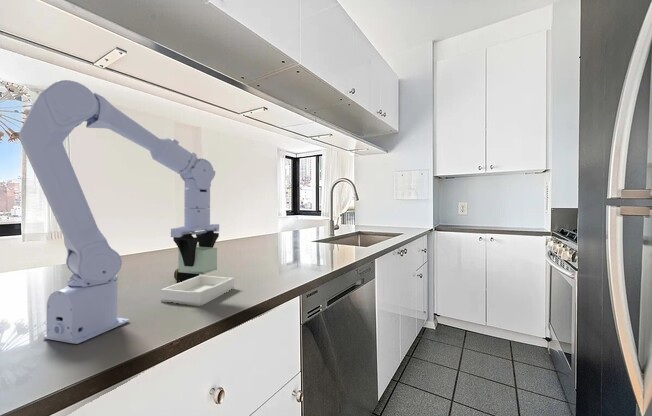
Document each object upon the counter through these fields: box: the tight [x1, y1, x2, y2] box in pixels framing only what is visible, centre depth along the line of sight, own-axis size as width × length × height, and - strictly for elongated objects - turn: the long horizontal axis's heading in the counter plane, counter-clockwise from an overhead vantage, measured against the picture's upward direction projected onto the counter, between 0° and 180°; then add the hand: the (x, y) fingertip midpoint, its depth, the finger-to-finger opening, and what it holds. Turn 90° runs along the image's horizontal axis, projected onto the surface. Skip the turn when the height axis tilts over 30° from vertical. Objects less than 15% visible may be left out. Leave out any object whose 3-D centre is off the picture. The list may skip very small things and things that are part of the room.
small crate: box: [177, 246, 218, 275], centre depth 68 cm, size 5×7×6 cm
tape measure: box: [173, 268, 200, 282], centre depth 85 cm, size 7×7×4 cm
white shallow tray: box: [160, 274, 235, 307], centre depth 72 cm, size 14×11×3 cm
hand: (197, 263), depth 68 cm, fingers closed on small crate, 5 cm apart
